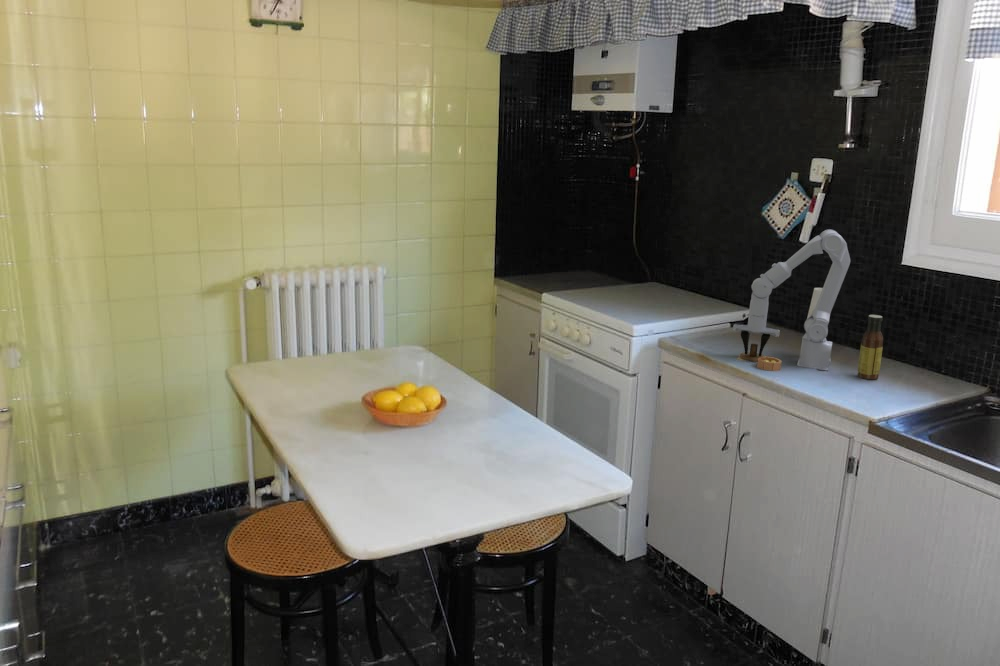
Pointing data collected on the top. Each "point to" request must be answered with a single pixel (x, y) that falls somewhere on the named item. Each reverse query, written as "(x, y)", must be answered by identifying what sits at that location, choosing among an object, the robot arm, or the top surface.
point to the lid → (751, 354)
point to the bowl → (769, 363)
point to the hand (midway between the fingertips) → (753, 354)
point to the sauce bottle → (871, 349)
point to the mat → (740, 358)
